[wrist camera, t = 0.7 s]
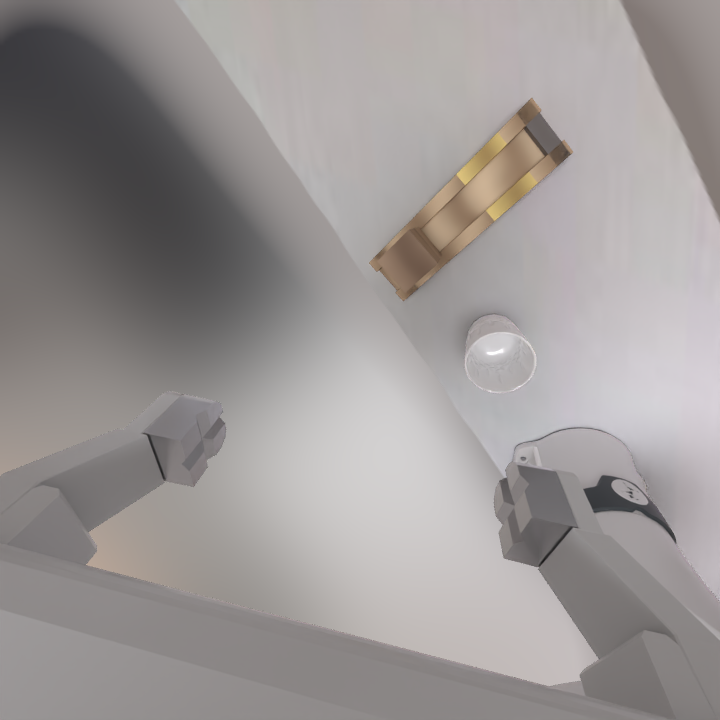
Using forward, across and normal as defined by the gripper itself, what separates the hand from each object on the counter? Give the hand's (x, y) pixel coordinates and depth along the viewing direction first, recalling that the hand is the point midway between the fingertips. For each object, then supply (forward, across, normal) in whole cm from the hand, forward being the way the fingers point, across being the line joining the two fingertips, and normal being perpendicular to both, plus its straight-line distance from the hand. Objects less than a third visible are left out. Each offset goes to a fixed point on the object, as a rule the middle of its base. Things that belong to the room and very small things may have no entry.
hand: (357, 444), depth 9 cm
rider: (+39, +1, -4) cm, 39 cm away
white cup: (+38, +14, -14) cm, 43 cm away
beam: (+41, +6, 0) cm, 41 cm away
